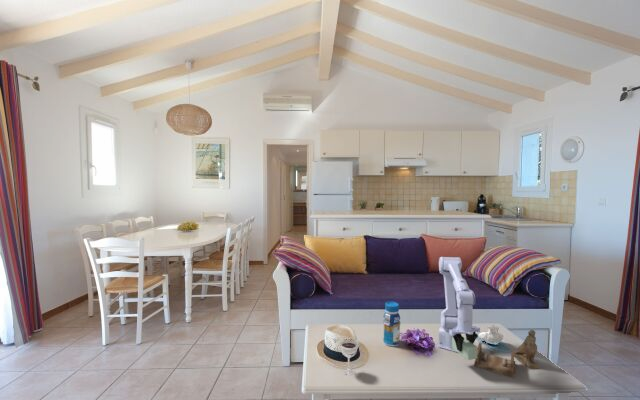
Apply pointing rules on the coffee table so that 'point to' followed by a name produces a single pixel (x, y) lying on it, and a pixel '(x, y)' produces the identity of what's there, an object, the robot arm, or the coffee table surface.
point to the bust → (491, 334)
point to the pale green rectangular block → (466, 349)
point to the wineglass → (348, 353)
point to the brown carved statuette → (527, 351)
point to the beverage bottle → (391, 324)
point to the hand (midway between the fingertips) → (464, 349)
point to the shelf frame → (495, 362)
